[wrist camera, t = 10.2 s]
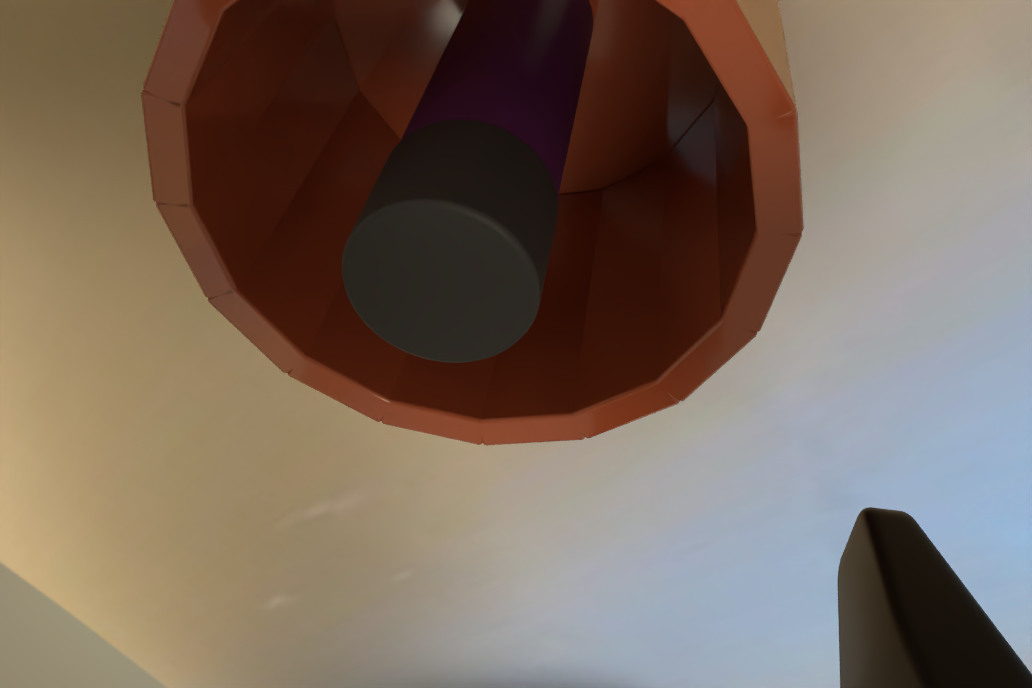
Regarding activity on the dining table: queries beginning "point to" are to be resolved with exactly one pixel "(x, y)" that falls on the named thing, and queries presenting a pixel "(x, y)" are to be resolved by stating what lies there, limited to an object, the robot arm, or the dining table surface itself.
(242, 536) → the dining table surface
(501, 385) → the pen cup
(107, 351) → the dining table surface
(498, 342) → the glue stick
